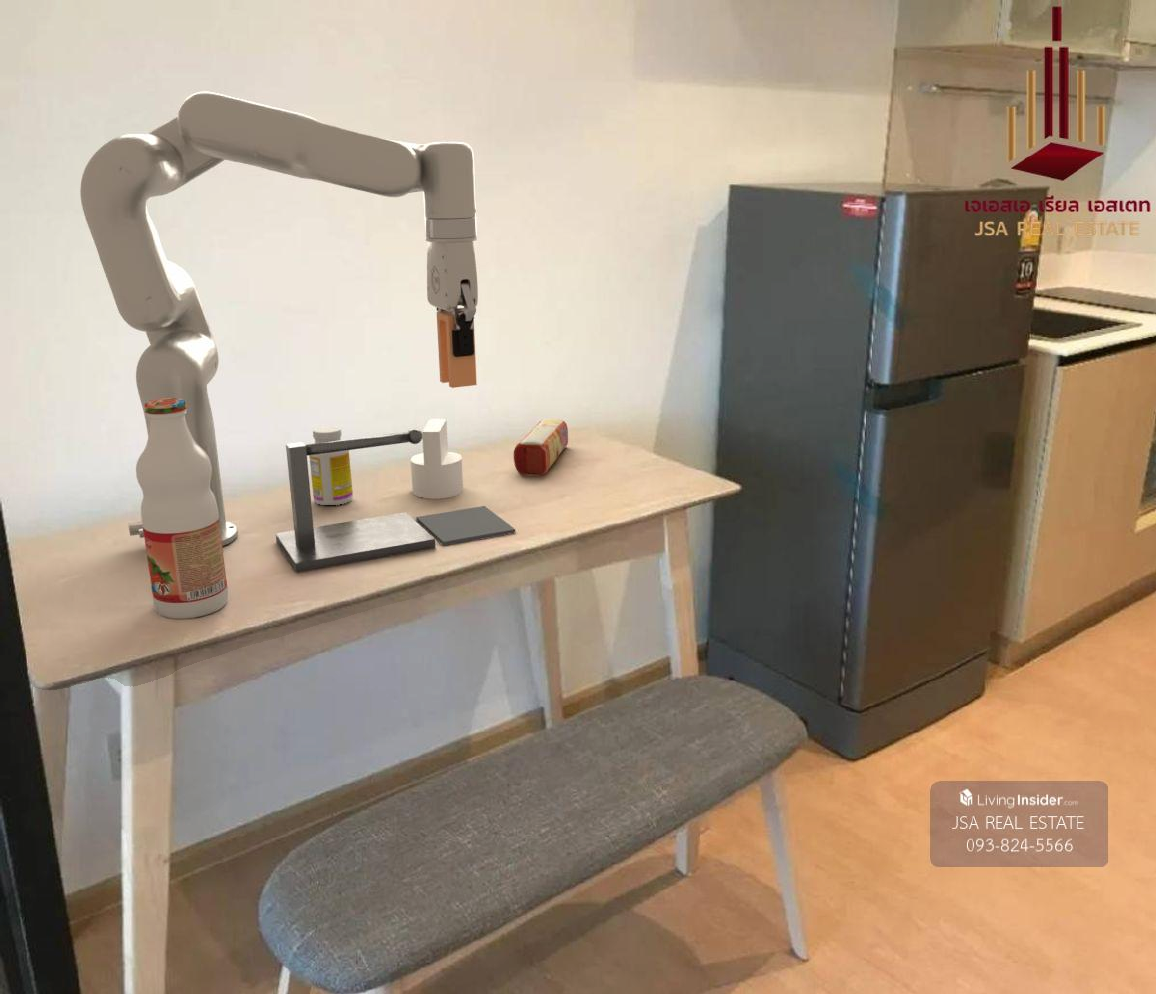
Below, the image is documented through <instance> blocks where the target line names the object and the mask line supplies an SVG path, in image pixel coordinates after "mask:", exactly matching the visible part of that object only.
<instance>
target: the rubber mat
mask: <svg viewBox="0 0 1156 994" xmlns="http://www.w3.org/2000/svg"><path fill="white" fill-rule="evenodd" d="M415 519H416V520H415V521H416V522H417V523H418V524H419V525H420V526H421V527H422V528H424V529H425V530H426V531H427V532H428V533H429V534H430V535H431V536H432V537H433V538H434V539H435V540H437V542H439V543H440V544H441V545H442V546H443V547H444V546H449V545H454V544H460V543H466V542H471V541H477V540H481V539H482V538H483V539H487V538H488V537H489V538H494V537H499V535H500V536H504V534H506V535H509V533H511V534H515V533H516V528H515V527H513V526H512V525H510V523H508V522H507V521H505V520H504V519H503V518H501V517H500V516H498V515H497V514H496V513H495V512H493V511H492V510H491V509H490V508H488V507H486V506H485V505H481V506H475V507H469V508H464V509H456V510H451V511H445V512H438V513H433V514H427V515H420V516H416V518H415ZM514 532H515V533H514ZM493 536H494V537H493ZM483 539H482V540H483Z"/></svg>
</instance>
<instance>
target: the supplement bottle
mask: <svg viewBox="0 0 1156 994" xmlns="http://www.w3.org/2000/svg"><path fill="white" fill-rule="evenodd" d="M312 434H313V435H312V437H313V439H314V443H313V444H316V443H324V442H332V441H340V440H342V434H343V433H342V428H341V427H340V426H337V425H336V426H335V425H328V426H327V425H325V426H319V427H316V428H314V429H313V430H312ZM350 458H351V457H350V450H346V451H339V452H331V453H324V454H316V455H309V466H310V475H311V485H312V486H311V487H312V496H313V500H314V502H315V503H316V504H317V505H319V504H320V506H323V505H336V506H341V505H340V504H342V505H345V504H348V503H349V502H351V501H352V500H353V497H354V494H353V493H354V491H353V484H352V471H351V459H350ZM347 502H348V503H347ZM344 503H345V504H344Z"/></svg>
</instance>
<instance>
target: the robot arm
mask: <svg viewBox="0 0 1156 994" xmlns="http://www.w3.org/2000/svg"><path fill="white" fill-rule="evenodd" d="M474 158H475V157H474V151H473V148H472V147H471V145H470V144H468V143H466V142H459V141H457V142H456V141H448V142H446V141H438V142H430V143H426V144H421V143H411V142H405V141H398V140H391V139H387V138H382V137H379V136H378V137H377V136H376V135H375V136H374V135H370V134H366V133H362V132H358V131H353V130H349V129H346V128H341V127H338V126H335V125H331V124H328V123H325V122H322V121H320V120H318V119H316V118H314V117H312V116H308V115H306V114H302V113H300V112H296V111H295V112H294V111H292V110H291V111H290V110H288V109H287V110H286V109H283V108H279V107H274V106H270V105H266V104H263V103H257V102H255V101H249V100H245V99H241V98H236V97H233V96H229V95H225V94H221V93H218V92H213V91H212V92H211V91H199V92H196V93H193V94H191V95H189V96H188V97H187V98H185V100H184V101H183V102H182V104H181V105H180V107H179V110H178V114H177V116H175V117H173V118H172V119H170V120H169V121H167V122H166V123H164V124H162V125H161V126H158V127H157V128H155V129H154V130H153V129H152V131H150V132H148V133H146V134H140V133H132V134H124V135H121V136H118V137H115V138H113V139H111V140H110V141H108V142H106V143H104V145H102V146H101V147H100V148H99V149H98V150H97V151H96V152H95V153H94V154H93V155H92V157H91V158H90V159H89V161H88V162H87V164H86V165H85V167H84V170H83V174H82V176H81V181H80V182H81V183H80V189H79V190H80V191H79V192H80V193H79V194H80V200H81V201H80V203H81V207H82V211H83V215H84V217H85V221H86V224H87V226H88V229H89V231H90V234H91V237H92V239H93V242H94V245H95V247H96V248H95V249H96V251H97V254H98V257H99V260H100V263H101V266H102V268H103V271H104V274H105V277H106V279H107V282H108V284H109V285H108V286H109V289H110V291H111V294H112V296H113V300H114V303H115V305H116V308H117V311H118V313H119V315H120V316H121V319H123V321H125V323H126V324H127V325H128V326H129V327H131V328H133V329H135V330H137V331H140V332H145V334H146V337H147V339H148V342H149V344H150V345H149V346H148V347H147V348H146V349H145V350H144V351H143V352H142V353H141V355H140V357H139V359H138V362H137V366H136V370H135V380H136V387H137V393H138V396H139V400H140V404H141V406H142V410H143V411H142V412H143V415H144V419H145V425H146V431H147V437H148V436H149V427H150V423H149V418H148V417H147V416H146V412H145V403H146V402H148V401H151V400H155V399H162V398H180V399H184V400H185V402H186V407H187V409H186V411H187V412H186V414H185V420H186V424H187V426H188V429H189V431H190V433H191V435H192V437H193V439H194V440H195V442H196V443H197V444H198V445H199V446H200V447H201V448H202V449H203V450H204V451H205V452H206V454H207V455H208V457H209V459H210V462H211V468H212V472H211V479H210V489H211V491H212V493H213V494H214V496H215V499H216V503H217V508H218V514H219V524H220V532H221V540H222V547H224V546H226V545H228V544H230V543H232V542H233V541H235V539H237V537H238V535H239V532H238V527H237V525H235V524H233V522H229V521H227V519H226V510H225V504H224V503H225V502H224V495H223V486H222V478H221V472H220V462H219V454H218V444H217V439H216V429H215V424H214V423H215V421H214V417H213V412H212V408H211V404H210V399H209V394H208V385H209V383H210V382H212V380H213V378H214V377H215V375H216V373H217V372H218V368H219V352H218V348H217V345H216V341H215V339H214V335H213V334H212V330H211V327H210V324H209V321H208V319H207V315H206V313H205V310H204V306H203V303H202V301H201V298H200V296H199V292H198V290H197V287H196V286H195V284H194V281H193V279H192V277H190V275H189V274H188V273H187V272H186V271H185V270H184V269H183V268H182V267H181V266H179V265H177V264H176V263H174V262H172V261H169V260H167V258H166V255H165V251H164V250H163V248H162V245H161V244H162V243H161V241H160V238H159V235H158V231H157V230H156V229H157V228H156V227H155V225H154V223H153V221H152V219H151V217H150V215H149V213H148V208H147V201H148V199H150V198H154V197H158V196H164V195H168V194H169V193H170V194H171V193H172V192H174V191H176V190H178V189H180V188H181V187H183V186H185V185H187V184H188V183H190V182H191V181H193V180H195V179H196V178H197V177H199V176H201V175H202V174H204V173H206V172H209V170H211V169H213V168H214V167H216V166H218V165H219V164H221V163H223V162H224V161H229V162H234V163H237V164H238V163H239V164H243V165H247V166H252V167H255V168H260V169H263V170H264V169H265V170H268V171H271V172H276V173H281V174H284V175H289V176H291V177H292V176H293V177H296V178H300V179H307V180H314V181H321V182H324V183H328V184H333V185H336V186H339V187H345V188H348V189H352V190H357V191H361V192H365V193H369V194H374V195H378V196H381V197H387V198H400V197H404V196H406V195H407V194H412V193H419V192H422V195H423V213H424V229H425V241H426V242H428V243H427V250H426V251H427V253H426V254H427V255H426V288H427V289H426V295H427V296H426V297H427V302H428V303H429V305H431V306H433V307H435V308H436V312H439V311H452V317H453V324H454V329H455V330H452V345H453V356H455V357H463V356H472V355H474V337H473V329H474V330H475V322H474V323H473V319H474V320H475V315H476V313H477V308H476V307H477V306H478V300H479V299H478V298H479V297H478V296H479V289H478V275H477V274H478V273H477V263H476V254H475V247H474V241H477V240H478V236H477V206H476V186H475V182H476V181H475V161H474V160H475V159H474ZM458 306H462V307H458ZM458 313H462V314H461V315H460V318H459V317H458ZM127 525H128V532H129V536H130V537H132V536H137V535H138V536H139V538H140V539H142V538H143V539H144V532H143V527H142V521H136V522H131V523H130V522H129V523H128V524H127Z"/></svg>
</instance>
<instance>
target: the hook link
mask: <svg viewBox="0 0 1156 994" xmlns="http://www.w3.org/2000/svg"><path fill="white" fill-rule="evenodd" d="M461 314H462V313H458V317H459V318H460V315H461ZM473 323H474V324H475V318H474V319H473ZM436 326H437V327H436V329H437V344H438V345H437V347H438V365H439V382H440V383H442V384H445V383H448V387H449V388H451V389H453V388H461V387H462V388H463V387H470V386H477V385H478V384H477V364H476V343H475V341H476V340H475V328H474V329H473V337H474V355H472V356H463V357H455V356H453V345H452V330H455V329H454V324H453V317H452V311H439V312H438V311H436Z"/></svg>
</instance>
